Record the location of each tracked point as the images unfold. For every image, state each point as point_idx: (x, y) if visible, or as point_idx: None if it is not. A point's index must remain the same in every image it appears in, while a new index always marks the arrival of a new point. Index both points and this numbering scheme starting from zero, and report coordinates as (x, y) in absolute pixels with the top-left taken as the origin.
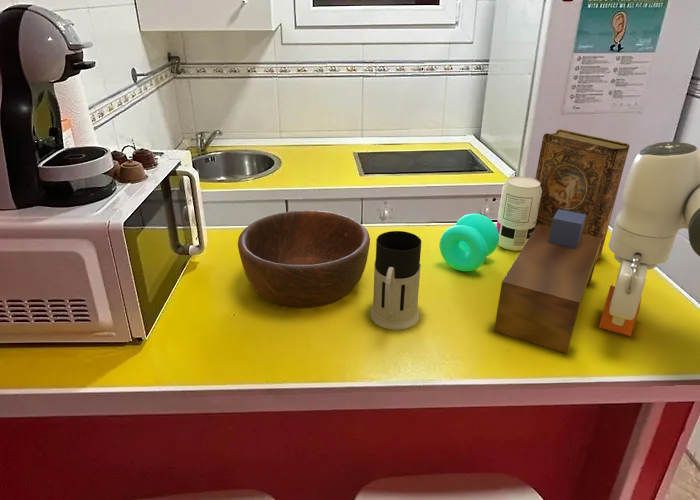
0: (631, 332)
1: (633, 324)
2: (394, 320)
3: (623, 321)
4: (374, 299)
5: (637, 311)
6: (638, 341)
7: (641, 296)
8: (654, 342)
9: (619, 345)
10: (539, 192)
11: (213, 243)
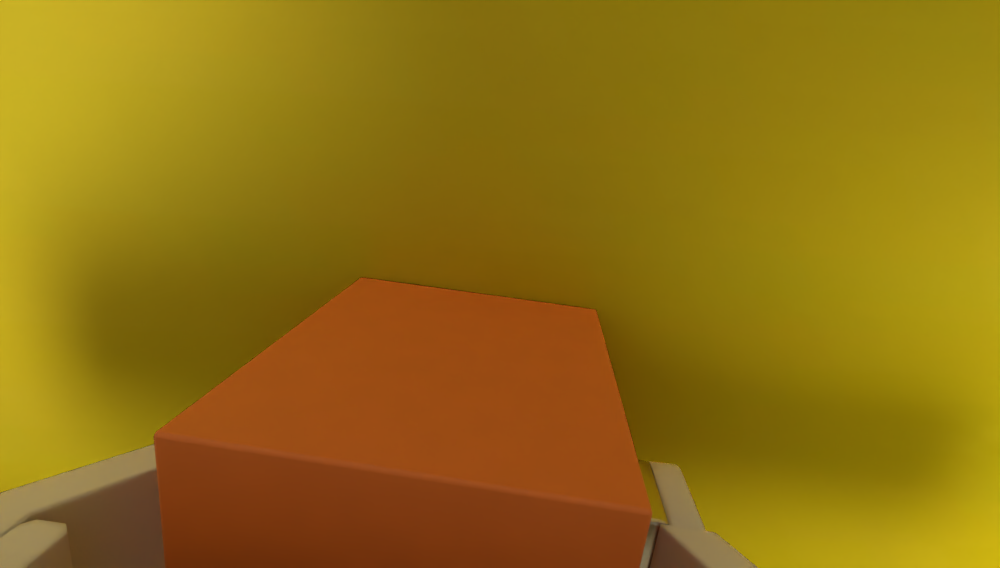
0: (599, 324)
1: (606, 363)
2: None
3: (689, 497)
4: None
5: (631, 462)
6: (645, 252)
7: (268, 449)
8: (612, 124)
9: (755, 391)
10: None
11: None
